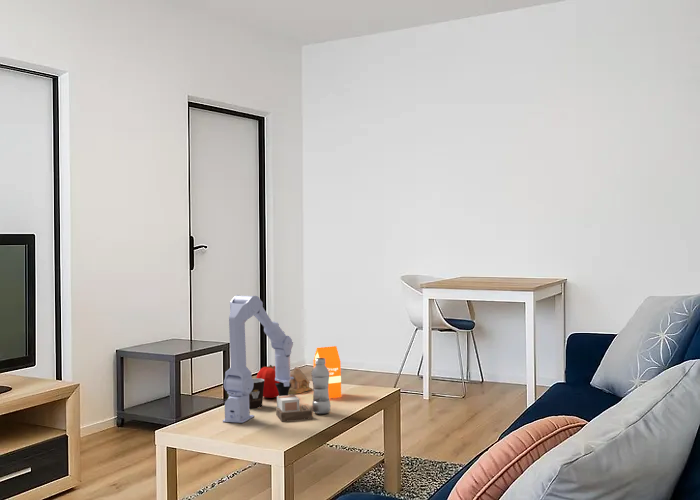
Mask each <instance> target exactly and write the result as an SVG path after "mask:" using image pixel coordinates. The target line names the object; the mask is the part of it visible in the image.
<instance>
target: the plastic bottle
mask: <svg viewBox="0 0 700 500" xmlns="http://www.w3.org/2000/svg"><path fill="white" fill-rule="evenodd" d="M315 364H316V366H315V367H314V366H313V369H312V370H311V373H310V374H311V380H312V381H311V382H312V387H313V394H312V395H313V397H312V398H313V399H312V404H311V407H312V412H313V413H314V414H317V415H325V414H329V412H331V402H330V398H329V393H328V383H329V370H328V369H327V367H326V366H325V364H326V362H325V358H316V359H315Z"/></svg>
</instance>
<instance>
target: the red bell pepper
mask: <svg viewBox="0 0 700 500" xmlns="http://www.w3.org/2000/svg"><path fill="white" fill-rule="evenodd" d="M256 378H259V379H264V391H263V398H265V399H273V398H277V396H279V393H278V389H277V387H276V385H275V383H279V382H278V381H275V378H276V376H275V365H272V364H269V366H263V365H262V367H261V368H260V369H259V370H258V373H257V375H256Z"/></svg>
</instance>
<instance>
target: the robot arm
mask: <svg viewBox="0 0 700 500" xmlns="http://www.w3.org/2000/svg"><path fill="white" fill-rule="evenodd" d="M263 304H264V303H263V301H262V300H261V298H260V297H259V296H257V295H240V294H236V295H235V296H234V297H232V298H231V300H230V301H229V316H228V326H229V327H228V328H229V353H230V354H229V355H230V367H229V368H228V369H227V370H226V371H225V373H224V380H223V388H224V390H225V391H226V394H227V395H228V398H227V399H226V400H225V403H224V419H223V420H222V422H223V423H224V422H225V423H238V424H239V423H240V424H243V423H246V422H247V421H249V420H251V419H252V418H254V417H255V415H254V414H250V409H249V394H251V391H252V389H253V386H254V382H253V379H252V378H253V377H252V371H251V370H250V368H248V367H247V352H246V351H247V349H246V347H247V346H246V322H247V321H248V320H249V319H250V318H252V317H254V318H256V320H257V321H258V322H259V323H260V324H261V325H262V327H263V332H264V334H265V335H266V336H267V337H268V339H269V341H270V345H271V348H272V349H273V350H274V362H275V363H274V364H275V365H274V366H275V376H276V378H275V381H278V382H279V383H275V385H276V387H277V389H278V393H279V396H285V395H289V394H288V392H289V389H290V387H291V384H290V380H291V379H294V377H290V373H291V354H292V348H293V346H294V342H293V339H292V338H291V336H289V335H286V333H285V331H283V330H282V328H281V326H280V324H279V322H278V321H277V322H276V321H273V320H272V319H271V318H270V316H269V314H268V313H267V312H266V310H265V308H264V307H263V306H264V305H263Z"/></svg>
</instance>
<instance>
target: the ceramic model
mask: <svg viewBox="0 0 700 500" xmlns="http://www.w3.org/2000/svg"><path fill="white" fill-rule="evenodd" d="M290 377H294V379H291V380H290V384H291V387H290V389H289V392H288V395H297V394H302V393H304V392H307V391H308V392H309V391H311V390H312V387H310V383H311V381H310V380H309V379H308V377H307V375H306V374H305V373H303V372H302V370H301V369H300V368H299V367H297V366H296V367H294V369H293V370H290Z"/></svg>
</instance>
